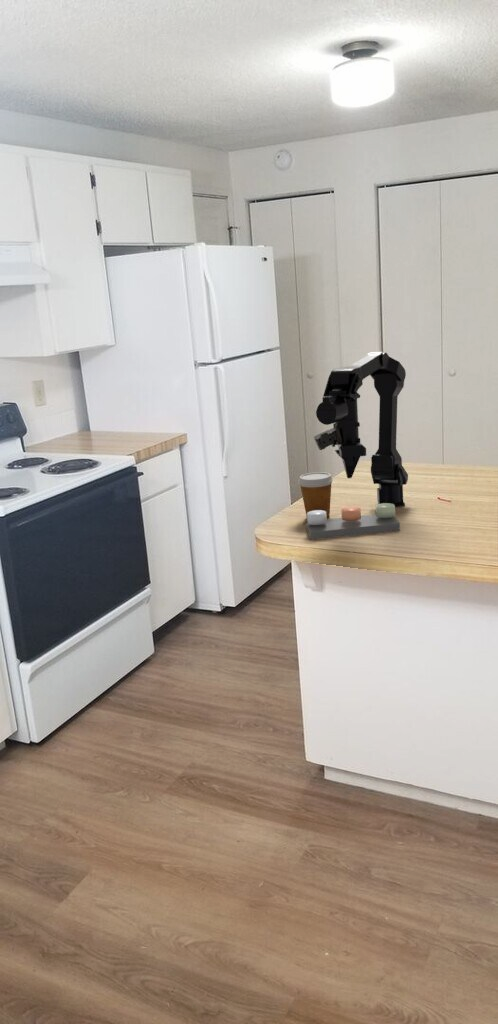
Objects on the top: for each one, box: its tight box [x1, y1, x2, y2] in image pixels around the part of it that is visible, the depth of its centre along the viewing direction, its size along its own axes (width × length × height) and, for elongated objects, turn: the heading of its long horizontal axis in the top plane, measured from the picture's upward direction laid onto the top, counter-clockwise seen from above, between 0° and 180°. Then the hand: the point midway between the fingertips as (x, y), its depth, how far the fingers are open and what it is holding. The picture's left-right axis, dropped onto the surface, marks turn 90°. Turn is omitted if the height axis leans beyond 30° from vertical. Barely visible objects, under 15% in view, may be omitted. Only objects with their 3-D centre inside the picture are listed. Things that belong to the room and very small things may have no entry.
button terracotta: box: [340, 506, 362, 521], centre depth 215 cm, size 5×5×2 cm
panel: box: [305, 513, 401, 541], centre depth 216 cm, size 23×10×2 cm, turn 93°
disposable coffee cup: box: [297, 471, 334, 519], centre depth 228 cm, size 10×10×12 cm
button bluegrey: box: [306, 510, 327, 525], centre depth 215 cm, size 5×5×2 cm
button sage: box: [374, 503, 396, 518], centre depth 215 cm, size 5×5×2 cm
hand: (349, 477), depth 214 cm, fingers closed
